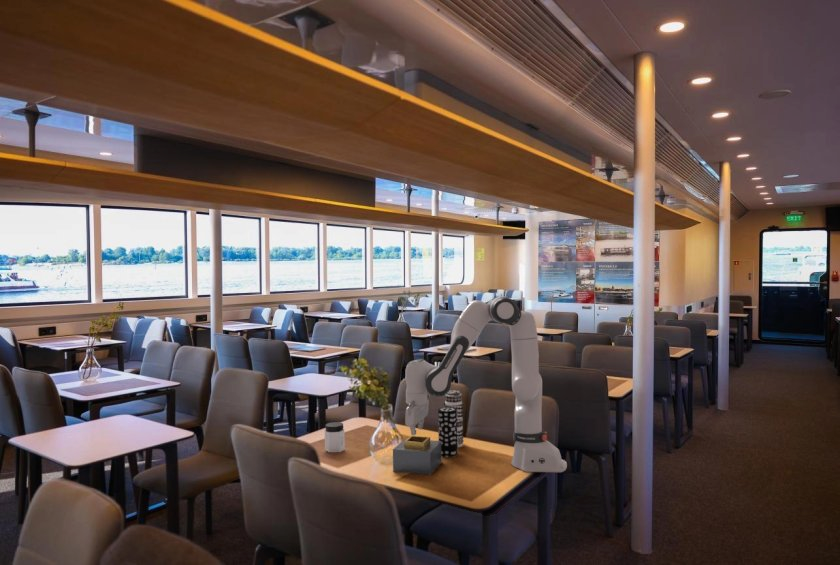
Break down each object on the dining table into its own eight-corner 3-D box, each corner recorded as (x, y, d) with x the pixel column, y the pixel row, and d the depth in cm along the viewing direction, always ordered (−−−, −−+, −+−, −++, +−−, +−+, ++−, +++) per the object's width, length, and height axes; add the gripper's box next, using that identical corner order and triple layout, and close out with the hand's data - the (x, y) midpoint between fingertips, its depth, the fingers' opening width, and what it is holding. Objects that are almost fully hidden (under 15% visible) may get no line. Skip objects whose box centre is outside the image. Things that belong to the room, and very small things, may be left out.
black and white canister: (458, 448, 265) (457, 394, 264) (441, 445, 270) (440, 392, 269) (467, 443, 273) (466, 390, 272) (450, 440, 277) (449, 388, 277)
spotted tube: (456, 457, 252) (455, 411, 251) (437, 456, 253) (436, 411, 253) (458, 451, 260) (458, 407, 259) (440, 451, 261) (439, 407, 261)
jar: (337, 454, 260) (336, 427, 260) (322, 452, 263) (321, 426, 263) (347, 448, 268) (347, 422, 268) (332, 446, 272) (332, 421, 271)
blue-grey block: (441, 462, 246) (441, 435, 246) (430, 474, 231) (430, 446, 231) (406, 459, 251) (405, 432, 251) (393, 471, 236) (392, 443, 236)
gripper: (415, 404, 230) (416, 439, 230) (430, 394, 249) (431, 426, 249) (400, 403, 232) (401, 438, 232) (416, 393, 251) (417, 425, 251)
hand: (417, 431), depth 241 cm, fingers open, 8 cm apart
